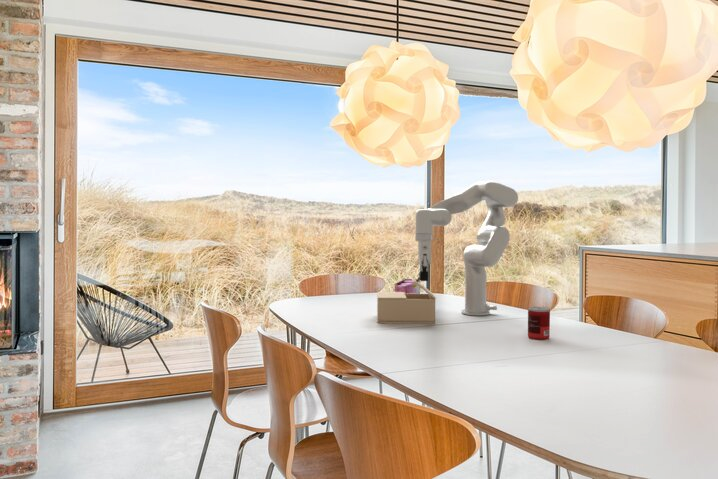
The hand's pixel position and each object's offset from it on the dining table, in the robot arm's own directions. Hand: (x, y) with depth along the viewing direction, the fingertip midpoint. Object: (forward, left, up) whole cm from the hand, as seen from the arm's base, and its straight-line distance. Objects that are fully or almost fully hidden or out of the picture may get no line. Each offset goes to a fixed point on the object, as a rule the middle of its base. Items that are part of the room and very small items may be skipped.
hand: (423, 279), depth 245 cm
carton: (+8, 0, -17) cm, 19 cm away
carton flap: (+1, 0, -4) cm, 4 cm away
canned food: (-39, +36, -17) cm, 56 cm away
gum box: (+5, -25, -18) cm, 31 cm away
